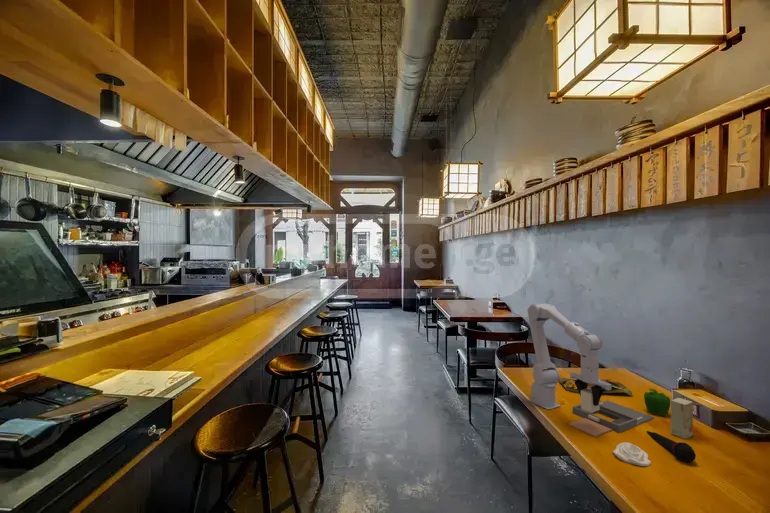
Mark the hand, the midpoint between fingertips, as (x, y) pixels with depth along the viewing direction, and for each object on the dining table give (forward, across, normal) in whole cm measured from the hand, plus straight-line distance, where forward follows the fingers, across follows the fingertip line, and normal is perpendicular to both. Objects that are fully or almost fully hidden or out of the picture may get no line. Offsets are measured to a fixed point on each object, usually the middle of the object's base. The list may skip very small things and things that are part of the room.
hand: (589, 402), depth 126 cm
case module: (+2, 0, 0) cm, 3 cm away
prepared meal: (+10, +24, -41) cm, 48 cm away
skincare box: (+10, -18, -25) cm, 32 cm away
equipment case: (+9, +2, -18) cm, 20 cm away
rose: (+10, -18, +7) cm, 21 cm away
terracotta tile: (+9, 0, 0) cm, 9 cm away
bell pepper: (+10, -5, -37) cm, 39 cm away
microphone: (+10, -20, -10) cm, 25 cm away
